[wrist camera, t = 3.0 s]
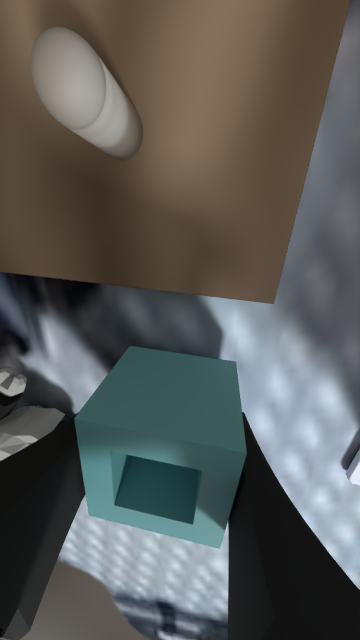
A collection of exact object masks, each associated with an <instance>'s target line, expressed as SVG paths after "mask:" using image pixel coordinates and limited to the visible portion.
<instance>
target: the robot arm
mask: <svg viewBox="0 0 360 640" xmlns="http://www.w3.org/2000/svg"><path fill="white" fill-rule="evenodd" d="M78 413H79V412H78ZM78 413H77V414H78ZM77 414H76V415H74V416H73V417H72V418H70V419H69V420H68V421H66V422H65V423H63V424H62V425H60V426H59V427H57V428H56V429H55V430H53V431H52V432H50V433H48V434H47V435H45V436H44V437H42V438H41V439H39V440H37V441H36V442H34V443H32V444H31V445H29V446H27V447H25V448H23V449H22V450H20V451H18V452H16V453H14V454H12V455H10V456H8V457H7V458H5V459H3V460H1V461H0V637H1V638H2V637H3V638H6V639H9V640H20V639H21V638H22V637H23V636H25V635H26V634H27V633H28V632H29V631H30V629H31V626H32V623H33V621H34V618H35V615H36V612H37V610H38V607H39V604H40V602H41V599H42V596H43V594H44V591H45V589H46V586H47V583H48V581H49V578H50V576H51V573H52V571H53V568H54V566H55V563H56V561H57V558H58V556H59V553H60V551H61V548H62V546H63V543H64V541H65V539H66V536H67V534H68V531H69V529H70V527H71V524H72V522H73V519H74V517H75V515H76V513H77V510H78V508H79V506H80V503H81V501H82V499H83V497H84V494H85V486H84V480H83V473H82V467H81V460H80V454H79V447H78V440H77V434H76V427H75V421H74V418H75V417H76V416H77ZM242 417H243V425H244V434H245V442H246V451H247V454H246V458H245V461H244V465H243V469H242V472H241V476H240V479H239V483H238V486H237V490H236V493H235V497H234V501H233V504H232V508H231V511H230V515H229V518H228V527H229V591H228V640H360V590H359V589H358V588H357V587H356V585H355V584H354V583H353V582H352V581H351V580H350V578H349V577H348V576H347V575H346V573H345V572H344V571H343V570H342V568H341V567H340V566H339V565H338V564H337V562H336V561H335V560H334V559H333V557H332V556H331V555H330V554H329V552H328V551H327V550H326V548H325V547H324V546H323V544H322V543H321V542H320V540H319V539H318V538H317V536H316V535H315V534H314V532H313V531H312V530H311V528H310V527H309V526H308V525H307V523H306V522H305V520H304V519H303V518H302V516H301V515H300V513H299V512H298V510H297V509H296V507H295V506H294V505H293V503H292V502H291V500H290V499H289V497H288V495H287V494H286V492H285V491H284V489H283V488H282V486H281V484H280V483H279V481H278V479H277V478H276V476H275V474H274V473H273V471H272V469H271V467H270V466H269V464H268V462H267V460H266V458H265V456H264V455H263V453H262V451H261V449H260V447H259V445H258V443H257V441H256V439H255V437H254V434H253V432H252V430H251V428H250V425H249V423H248V421H247V418H246V415H245V414H244V412H242ZM346 476H347V478H348V480H349V481H350V482H351V483H354V484H357V485H360V449H359V451H358V452H357V454H356V456H355V458H354V459H353V461H352V463H351V465H350V466H349V468H348V470H347V472H346ZM0 640H2V639H0Z"/></svg>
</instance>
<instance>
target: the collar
mask: <svg viewBox="0 0 360 640" xmlns="http://www.w3.org/2000/svg"><path fill="white" fill-rule="evenodd" d="M74 421H75V427H76V434H77V440H78V447H79V454H80V460H81V467H82V473H83V480H84V486H85V493H86V500H87V506H88V513H89V515H90V516H94V517H97V518H101V519H105V520H109V521H113V522H117V523H121V524H125V525H129V526H133V527H137V528H140V529H144V530H148V531H152V532H156V533H160V534H164V535H168V536H172V537H176V538H180V539H183V540H187V541H191V542H195V543H199V544H203V545H207V546H211V547H215V548H219V549H220V547H221V543H222V540H223V536H224V532H225V529H226V525H227V522H228V518H229V515H230V511H231V508H232V504H233V501H234V497H235V493H236V490H237V486H238V483H239V479H240V476H241V472H242V469H243V465H244V461H245V458H246V454H247V451H246V442H245V434H244V425H243V417H242V409H241V400H240V392H239V384H238V375H237V367H236V362H234V361H227V360H221V359H214V358H207V357H201V356H194V355H188V354H181V353H175V352H168V351H162V350H155V349H148V348H142V347H135V346H129V348H128V349H127V350H126V351H125V353H124V354H123V355H122V357H121V358H120V359H119V361H118V362H117V363H116V365H115V366H114V367H113V368H112V370H111V371H110V372H109V374H108V375H107V376H106V378H105V379H104V380H103V382H102V383H101V384H100V385H99V387H98V388H97V389H96V391H95V392H94V393H93V395H92V396H91V397H90V399H89V400H88V401H87V402H86V404H85V405H84V406H83V408H82V409H81V410H80V412H79V413H78V414H77V416H76V417H75V418H74Z"/></svg>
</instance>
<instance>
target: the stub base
mask: <svg viewBox="0 0 360 640" xmlns="http://www.w3.org/2000/svg"><path fill="white" fill-rule="evenodd" d="M349 4H350V0H0V272H6V273H15V274H23V275H32V276H41V277H49V278H58V279H66V280H75V281H83V282H92V283H100V284H109V285H117V286H126V287H134V288H143V289H151V290H160V291H168V292H177V293H185V294H194V295H202V296H211V297H220V298H228V299H237V300H245V301H254V302H262V303H271V304H274V300H275V296H276V292H277V288H278V285H279V281H280V277H281V273H282V269H283V265H284V261H285V257H286V253H287V249H288V245H289V241H290V237H291V233H292V229H293V225H294V221H295V217H296V213H297V209H298V206H299V202H300V198H301V194H302V190H303V186H304V182H305V178H306V174H307V170H308V166H309V162H310V158H311V154H312V150H313V146H314V142H315V138H316V134H317V131H318V127H319V123H320V119H321V115H322V111H323V107H324V103H325V99H326V95H327V91H328V87H329V83H330V79H331V75H332V71H333V67H334V63H335V59H336V55H337V52H338V48H339V44H340V40H341V36H342V32H343V28H344V24H345V20H346V16H347V12H348V8H349Z"/></svg>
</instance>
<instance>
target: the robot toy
mask: <svg viewBox="0 0 360 640" xmlns="http://www.w3.org/2000/svg"><path fill="white" fill-rule="evenodd" d="M15 371H16V370H14V369H12V368H10V367H7V368H2V369H1V370H0V420H1V421H0V461H1V460H3V459H5V458H7V457H8V456H10V455H12V454H14V453H16V452H18V451H20V450H22V449H23V448H25V447H27V446H29V445H31V444H32V443H34V442H36V441H37V440H39V439H41V438H42V437H44V436H45V435H47V434H48V433H50V432H52V431H53V430H55V429H56V428H57V427H59V426H60V425H62V424H63V423H65V422H66V420H61V419H62V418H63V417H64V416H65V414H64V413H62V412H60V411H59V410H57V409H55V408H43V407H42V406H40V405H37V406H23V407H20V408H18V409H16V410H15V411H13V412H12V410H13V409H14V407H15V406H16V404H17V403H18V401H19V399H20V398H21V396H22V395H23V393H24V391H25V386H26V382H27V378H26V377H25V376H23V375H22V374H19V375H18V376H16V377H13V374H14V372H15ZM85 494H86V493H85ZM85 494H84V496H85ZM83 498H84V497H83Z"/></svg>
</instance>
